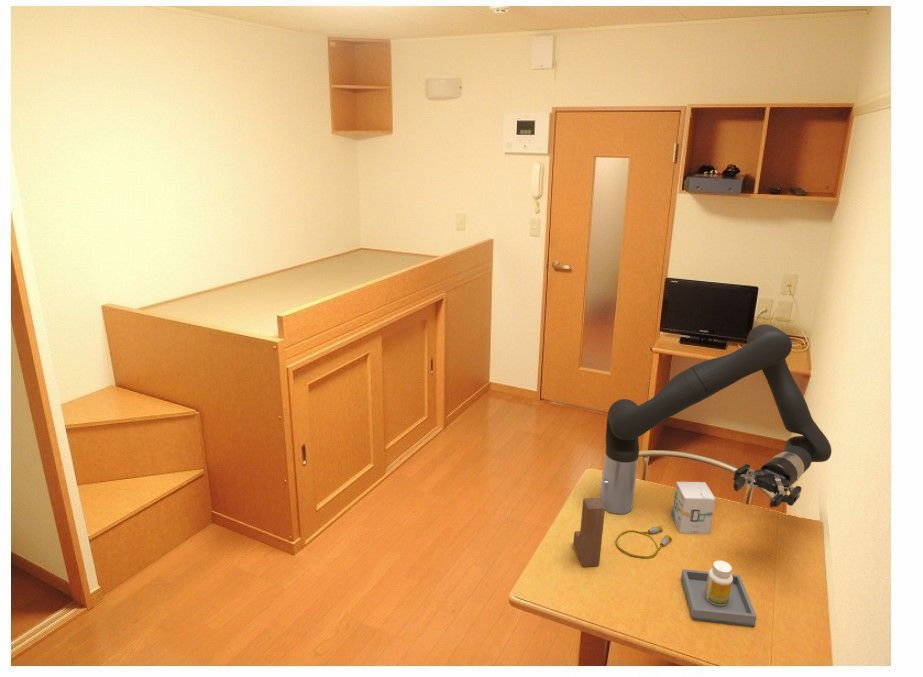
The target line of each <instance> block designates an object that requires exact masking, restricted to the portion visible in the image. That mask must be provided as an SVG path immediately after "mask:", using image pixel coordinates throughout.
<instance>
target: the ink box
mask: <svg viewBox="0 0 923 677" xmlns="http://www.w3.org/2000/svg"><path fill="white" fill-rule="evenodd" d="M675 482H676V483H675V489H674V493H673V494H674V496H673V501H672V509H671V517H672V519H673V521H674V524H675V526H676V528H677V530H678V533H679V534H696V533H697V534H698V535H699V534H700V535H703V534H704V535H709V534H710V532H711V527H712V526H711V525H712V521H713V514H714V510H715V504H716V497H715V496H714V494H713V493H712V491H711V489H710V487H709V486H708V484H707V483H706V482H705V481H680V480H679V481H675Z"/></svg>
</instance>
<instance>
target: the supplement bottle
mask: <svg viewBox="0 0 923 677" xmlns="http://www.w3.org/2000/svg"><path fill="white" fill-rule="evenodd" d="M732 570H733V568H732V566H731V564H730V563H728V562H726V561H724V560H716V561H714V562H713V564H712V567H711V568H709V570H708V572H709V573H708V578H707V583H706V588H705V598H706V599H707V600H708V601H709V602H710V603H712V604H714V605H716V606H724V605H726V604H727V603H728V601H729V596H730V591H731V586H732V582H733V577H732V574H733V573H732Z"/></svg>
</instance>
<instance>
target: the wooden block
mask: <svg viewBox="0 0 923 677" xmlns="http://www.w3.org/2000/svg"><path fill="white" fill-rule="evenodd" d="M581 509H582V510H581V519H580V529H579V531H578V530H576V531H574V532H573V547H574V550H575V552H576V555H577V557H578V559H579V561H580V564H581V566H582V567H583V568H588V567H590V568H591V567H599V566H600V559H601V553H602V542H603V541H602V540H603V533H604V532H603V531H604V522H605V512H606V510H605V506H604V504H603V503H602V501H601V499H600V497H584V498H583V499H582V508H581Z"/></svg>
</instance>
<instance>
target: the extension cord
mask: <svg viewBox="0 0 923 677" xmlns="http://www.w3.org/2000/svg"><path fill="white" fill-rule="evenodd" d="M661 532H664V529H663V527H662V526H661V525H658V526H652V527H650V528H649V529H647V531H638V530H634V529H629V530H624V531H623V532H621V533H619V534H618V535H617V537H616V538H615V545H616V547H617V549H618V550H619V552H621V553H622V554H624V555H626V556H628V557H632V558H636V559H643V560H644V559H645V560H649V559H654V558H655V557H656V556H658V553H659V550H660V549H661V548H663V547H665V546H666V545H668V544H669V543H670V542H671V541H672V540H673V539H672V537H671V536H670V535H668V534H665V535H664V536H663V538H661V541H660V543H659V546H658V544H657V542H656V540H655V539H654V538H653V537H652V536H651V535H655V534H656V535H657V534H659V533H661ZM628 533H638V534H641V535H643V536H644V535H645V537H648V538H650V539H651V540H652V541H653V543H654V545H655V547H656V551H655V552H654V553H653V554H650V555H638V554H634V553H631V552H628V551H626V550H624V549H623V548H621V546H620V545H619V543H618V540H619V538H620V537H622V536H624V535H625V534H628ZM647 533H648V534H647Z"/></svg>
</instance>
